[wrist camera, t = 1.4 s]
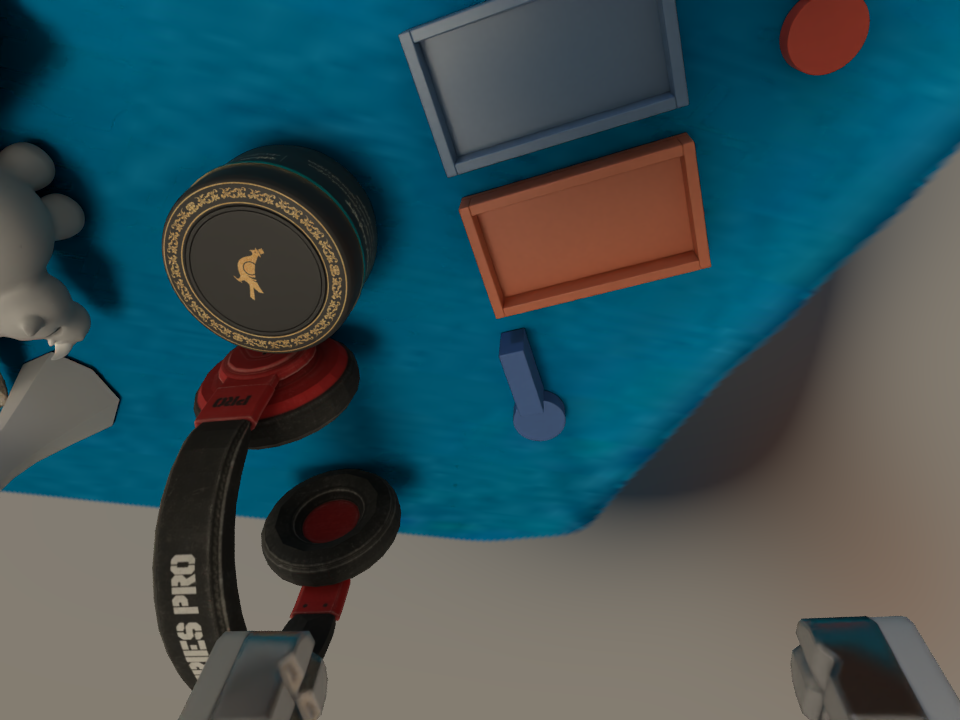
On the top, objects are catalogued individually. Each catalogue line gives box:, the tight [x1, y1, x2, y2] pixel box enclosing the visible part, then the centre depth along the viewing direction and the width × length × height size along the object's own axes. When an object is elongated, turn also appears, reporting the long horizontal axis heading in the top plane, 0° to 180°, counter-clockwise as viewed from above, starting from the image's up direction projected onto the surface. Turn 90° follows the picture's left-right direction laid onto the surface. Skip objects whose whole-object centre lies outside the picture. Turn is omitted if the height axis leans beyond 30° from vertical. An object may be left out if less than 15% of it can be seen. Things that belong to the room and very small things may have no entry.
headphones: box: [152, 338, 401, 690], centre depth 37 cm, size 18×10×20 cm, turn 8°
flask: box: [0, 352, 119, 491], centre depth 42 cm, size 7×7×10 cm
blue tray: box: [398, 0, 689, 178], centre depth 31 cm, size 13×7×2 cm, turn 108°
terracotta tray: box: [459, 132, 711, 319], centre depth 35 cm, size 13×7×2 cm, turn 108°
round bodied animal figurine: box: [0, 142, 91, 360], centre depth 35 cm, size 7×12×8 cm, turn 12°
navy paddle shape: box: [499, 328, 565, 441], centre depth 42 cm, size 9×4×3 cm, turn 18°
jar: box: [162, 145, 377, 354], centre depth 34 cm, size 10×10×8 cm
